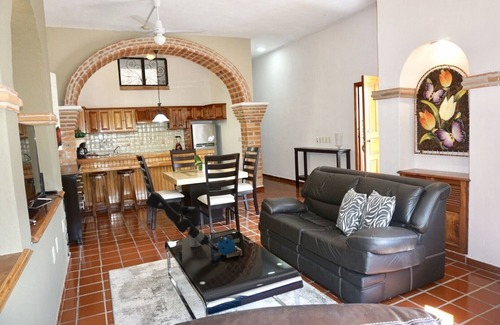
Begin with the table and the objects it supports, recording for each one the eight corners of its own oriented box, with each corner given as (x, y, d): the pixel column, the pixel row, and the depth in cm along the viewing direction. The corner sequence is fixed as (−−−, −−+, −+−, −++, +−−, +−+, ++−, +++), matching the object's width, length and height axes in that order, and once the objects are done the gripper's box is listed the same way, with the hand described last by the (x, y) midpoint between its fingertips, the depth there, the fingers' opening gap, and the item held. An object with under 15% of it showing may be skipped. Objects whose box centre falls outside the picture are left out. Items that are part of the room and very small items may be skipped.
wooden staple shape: (220, 252, 283) (220, 247, 282) (234, 249, 288) (234, 244, 287) (227, 258, 268) (227, 253, 268) (242, 255, 273) (241, 250, 273)
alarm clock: (233, 251, 282) (231, 233, 281) (236, 254, 276) (234, 235, 275) (217, 255, 277) (215, 236, 275) (220, 257, 271) (218, 238, 270)
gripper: (195, 239, 272) (211, 252, 278) (200, 244, 260) (217, 257, 266) (201, 231, 274) (217, 244, 280) (206, 235, 262) (223, 248, 268)
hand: (217, 250), depth 273 cm, fingers closed
